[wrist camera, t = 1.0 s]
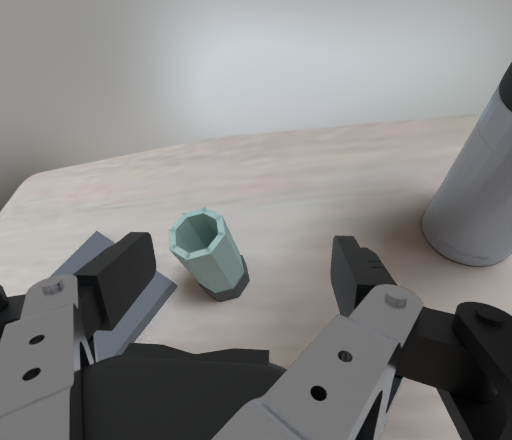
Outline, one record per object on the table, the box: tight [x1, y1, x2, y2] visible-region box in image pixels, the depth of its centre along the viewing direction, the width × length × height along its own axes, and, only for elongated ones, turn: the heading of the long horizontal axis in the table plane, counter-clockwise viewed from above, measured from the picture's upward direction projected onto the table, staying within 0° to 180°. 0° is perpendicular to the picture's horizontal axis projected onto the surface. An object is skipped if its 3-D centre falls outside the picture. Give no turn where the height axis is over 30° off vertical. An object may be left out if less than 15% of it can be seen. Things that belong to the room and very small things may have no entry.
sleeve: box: [169, 208, 250, 302], centre depth 30 cm, size 6×6×11 cm
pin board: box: [49, 231, 177, 361], centre depth 31 cm, size 22×16×6 cm
